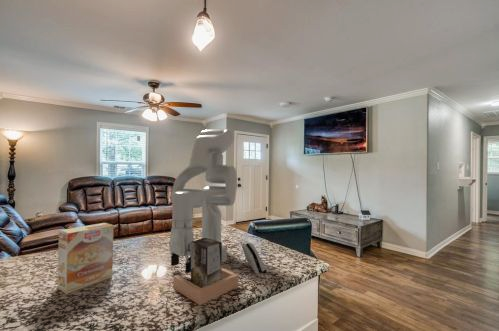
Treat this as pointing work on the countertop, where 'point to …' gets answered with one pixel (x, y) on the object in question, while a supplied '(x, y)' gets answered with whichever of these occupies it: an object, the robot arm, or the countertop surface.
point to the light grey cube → (224, 254)
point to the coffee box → (206, 262)
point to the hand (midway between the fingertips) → (182, 268)
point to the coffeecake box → (84, 256)
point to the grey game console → (253, 258)
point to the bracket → (206, 287)
